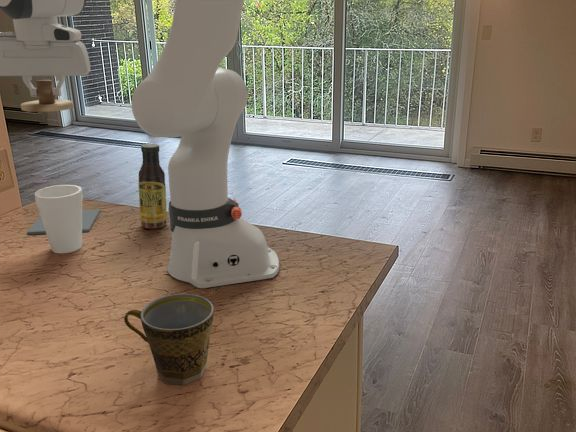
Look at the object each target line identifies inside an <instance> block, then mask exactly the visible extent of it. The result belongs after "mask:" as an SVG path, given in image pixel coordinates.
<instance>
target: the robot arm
mask: <svg viewBox="0 0 576 432" xmlns="http://www.w3.org/2000/svg"><path fill="white" fill-rule="evenodd" d="M244 2H245V0H175V4H174V10H173V11H174V12H173V16H172V23H171V26H170V31H169V33H168V37H167V39H166V42H165V44H164V45H163V49H162V51H161V54H160V56H159V57H158V60H157V61H156V63H155V65H154V66H153V68H152V70H151V71H150V73H148V75H147V76H146V77H145V78H144V79H143V80H142V81H141V82H140V83H139V84H138V85H137V86H136V87H135V89H134V91H133V94H132V97H131V109H132V110H131V111H132V114H133V118H134V120H135V122H136V124H137V125H138V126H139V128H140V129H141V130H142V131H143V132H145V133H146V134H147V135H149V136H151V137H156V138H178V137H180V140H179V144H178V146H177V148H176V150H175V151H174V153H173V154H172V155H171V157H170V159H169V161H168V166H167V171H168V183H169V199H170V201H168V212H167V213H168V223H169V228H170V231H171V246H170V255H169V259H168V265H167V272H168V274H169V275H170V276H171V277H172V278H174V279H176V280H179V281H182V282H185V283H189V284H191V285H192V286H193V287H195V288H198V289H207V288H212V287H219V286H220V287H221V286H229V285H233V284H239V283H240V284H241V283H246V282H253V281H260V280H266V279H272V278H275V276H276V275H277V274H278V273H279V271H280V261H279V257H278V256H279V255H277V253H276V251H274V249H272V248H271V247H269V246H268V244H267V243H268V242H267V240H266V237H265V236H264V233H263V232H262V230H261V229H259V228H258V227H257V226H255V225H254V224H252V223H250V222H249V221H248V220H245V219H244V218H242V215H243V213H242V209H241V207H239V206H240V205H239V203H238V202H237V200H236V199H235V198H233V199H232V198H229V195H228V194H229V193H228V192H229V190H228V189H229V186H228V161H229V153H230V148H231V144H232V139H233V135H234V131H235V128H236V125H237V123H238V120H239V119H240V116H241V114H242V113H243V112H244V110H245V109H246V107H247V104H248V100H249V93H248V88H247V85H246V82H245V81H244V79H243V77H242V76H241V75H240V74H238V73H237V72H236V71H235V70H232V69H227V68H224V67H220V65H221V63H222V62H223V60H224V59H225V58H226V56H227V55H228V54H229V53H230V52H231V51H232V49H233V48H234V47H235V45H236V43H237V40H238V39H237V38H238V32H239V29H240V23H241V18H242V14H243V8H244V5H245V4H244ZM86 3H87V0H0V11H2V12H3V13H4V14H5V15H6V16H8V17H10V18H11V19H12V22H13V27H14V28H13V29H14V31H5V32H2V31H0V77H21V79H22V82H23V83H24V85H25V86H26V87H27V88H28V89H29V93H30V94H29V95H30V97H31V98H33V97H35V98H36V97H38V92H37V87H35V86H34V85H33V83H32V82H31V81H32V80H33V77H54V78H55V81H56V82H57V85H56V87H53V88H52V92H53V96H54V97H61V96H62V90H61V88H62V86H63V84H64V83H65V80H66V79H65V77H67V76H68V77H75V76H77V77H78V76H79V77H80V76H81V77H82V76H83V77H84V76H88V75H89V74H90V72H91V64H90V63H91V62H90V57H89V53H88V50H87V48H86V45H85V44H84V43H83V42H82V41H81V39H82V33H81V31H80V30H79V29H76V28H73V27H70V26H67V25H63V24H61V23H59V22H58V17H61V18H62V17H73V16H77V15H80V14H81V12H83V11H84V9H85V7H86Z"/></svg>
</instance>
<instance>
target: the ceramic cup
mask: <svg viewBox="0 0 576 432" xmlns="http://www.w3.org/2000/svg"><path fill="white" fill-rule="evenodd" d="M214 309H215V308H214V305H213V303H212V302H211V300H209V299H207V298H205V297H203V296H200V295H197V294H191V293H178V294H177V293H176V294H169V295H165V296H162V297H159V298H157V299H154V300H152V301H150V302H148V303H147V304H146V305H145V306H144V307H143V308H142V310H140V309H139V310H138V309H130V310H129V311H127V312H126V313H125V316H124V317H123V318H124V323H125V325H126V326H127V328H129V329H130V330H131V331H133V332H134V333H136V334H137V335H139V337H140V338H141V339H142V340H143V341H144V342H146V343H147V344H148V346H149V348H150V351H151V352H150V353H151V355H152V357H153V360H154V365H155V369H156V371H157V374H158V376H159V377H160V378H161V380H163V382H164V383H165V384H169V385H170V384H171V385H178V386H185V385H188V384H190V383H194V382H195V381H198V380H200V379H201V378H202V376H203V374H204V372H205V370H206V367H207V362H208V354H209V345H210V338H211V332H212V329H213V324H214V323H213V322H214V311H215V310H214ZM129 316H133V317H135V318H137V319H139V320H140V322H141V325H142V329H143V331H144V333H143V332H142V331H141V330H140V329H138V328H136V327H135V326H134V325H133V324H131V323H130V321H129V320H128V319H129Z"/></svg>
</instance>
